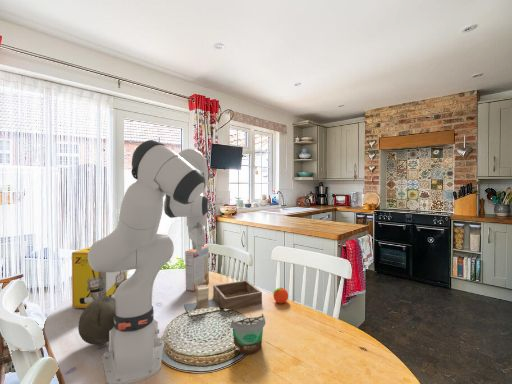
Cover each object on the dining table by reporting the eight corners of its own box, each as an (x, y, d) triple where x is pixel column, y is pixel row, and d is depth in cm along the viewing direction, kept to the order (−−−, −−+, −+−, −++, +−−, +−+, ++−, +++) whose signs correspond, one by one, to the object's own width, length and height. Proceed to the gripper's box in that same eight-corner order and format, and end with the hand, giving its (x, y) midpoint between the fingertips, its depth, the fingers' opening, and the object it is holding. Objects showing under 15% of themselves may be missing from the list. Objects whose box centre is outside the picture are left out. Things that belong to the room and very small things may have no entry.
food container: (236, 360, 83) (236, 328, 83) (230, 349, 88) (230, 319, 88) (271, 351, 88) (271, 320, 88) (263, 341, 93) (263, 312, 93)
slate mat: (221, 310, 117) (221, 309, 117) (189, 316, 111) (189, 315, 111) (213, 299, 128) (213, 299, 128) (184, 305, 122) (184, 304, 122)
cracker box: (200, 281, 153) (200, 245, 153) (209, 283, 151) (209, 246, 150) (184, 290, 140) (184, 250, 140) (194, 291, 138) (194, 251, 138)
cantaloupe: (86, 288, 95) (62, 334, 89) (103, 298, 86) (78, 349, 81) (120, 296, 105) (101, 338, 99) (140, 305, 96) (120, 351, 90)
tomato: (275, 307, 120) (275, 291, 120) (268, 301, 126) (268, 286, 126) (291, 304, 123) (291, 289, 123) (283, 298, 129) (283, 284, 129)
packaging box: (106, 308, 119) (106, 253, 118) (72, 307, 120) (71, 252, 120) (126, 294, 135) (126, 245, 134) (96, 293, 136) (96, 244, 136)
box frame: (261, 304, 123) (261, 292, 123) (224, 311, 116) (224, 299, 116) (246, 290, 140) (246, 280, 139) (213, 296, 132) (213, 285, 132)
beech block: (208, 308, 118) (208, 288, 118) (198, 310, 116) (198, 289, 116) (205, 304, 122) (205, 284, 122) (196, 305, 120) (196, 286, 120)
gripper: (208, 224, 114) (208, 256, 114) (198, 219, 132) (198, 246, 133) (193, 224, 111) (193, 257, 111) (185, 219, 130) (185, 247, 130)
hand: (196, 251), depth 122 cm, fingers open, 8 cm apart
